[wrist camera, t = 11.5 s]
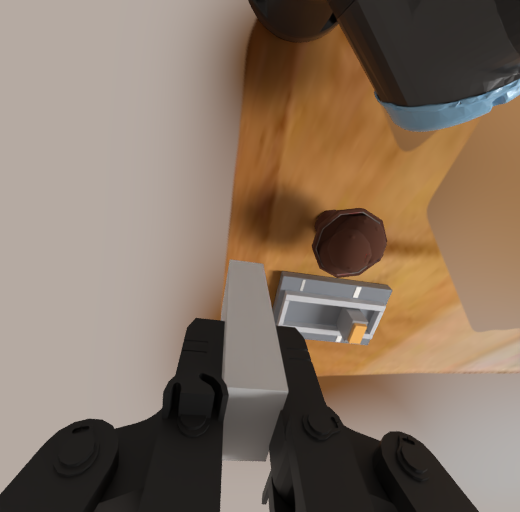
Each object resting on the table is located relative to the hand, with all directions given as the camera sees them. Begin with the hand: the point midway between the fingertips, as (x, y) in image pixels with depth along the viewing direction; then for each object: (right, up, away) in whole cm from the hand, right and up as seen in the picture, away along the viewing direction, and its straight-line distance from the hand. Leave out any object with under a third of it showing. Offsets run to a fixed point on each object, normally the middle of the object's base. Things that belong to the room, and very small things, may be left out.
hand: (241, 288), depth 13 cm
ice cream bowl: (+13, +7, +36) cm, 39 cm away
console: (+14, -9, +44) cm, 47 cm away
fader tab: (+18, -11, +42) cm, 47 cm away
